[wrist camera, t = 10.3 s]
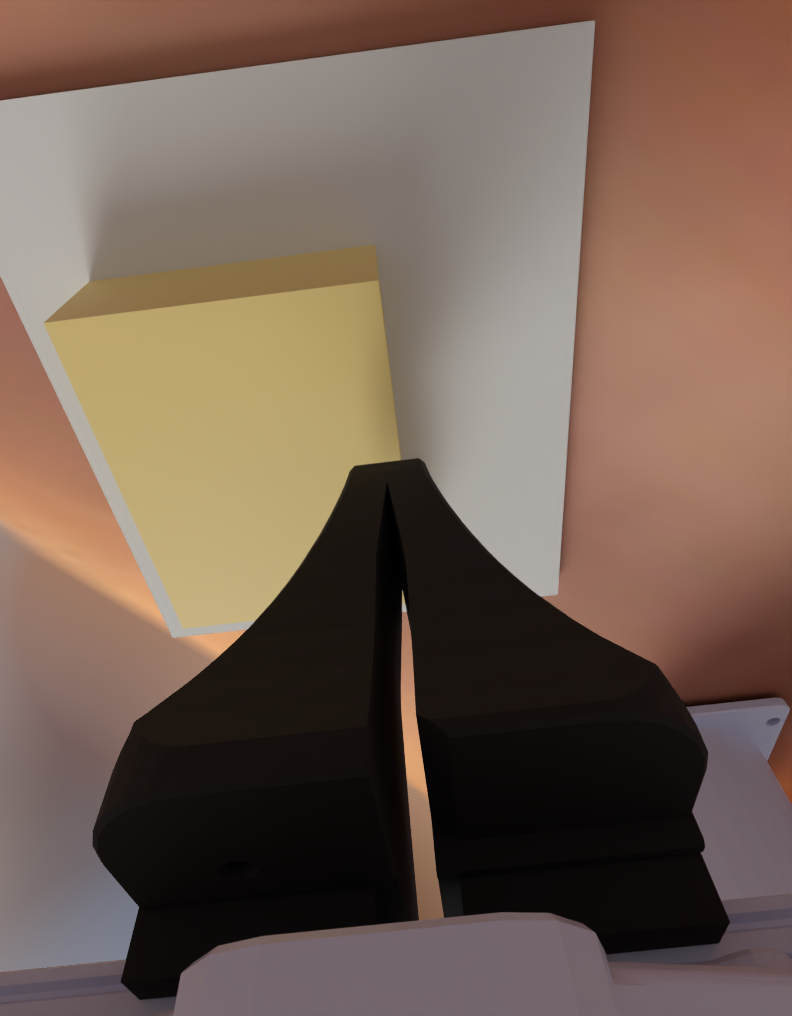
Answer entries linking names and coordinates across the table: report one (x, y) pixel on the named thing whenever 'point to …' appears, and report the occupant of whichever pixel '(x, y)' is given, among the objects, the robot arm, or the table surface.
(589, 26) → the mat
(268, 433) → the block
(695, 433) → the table surface
